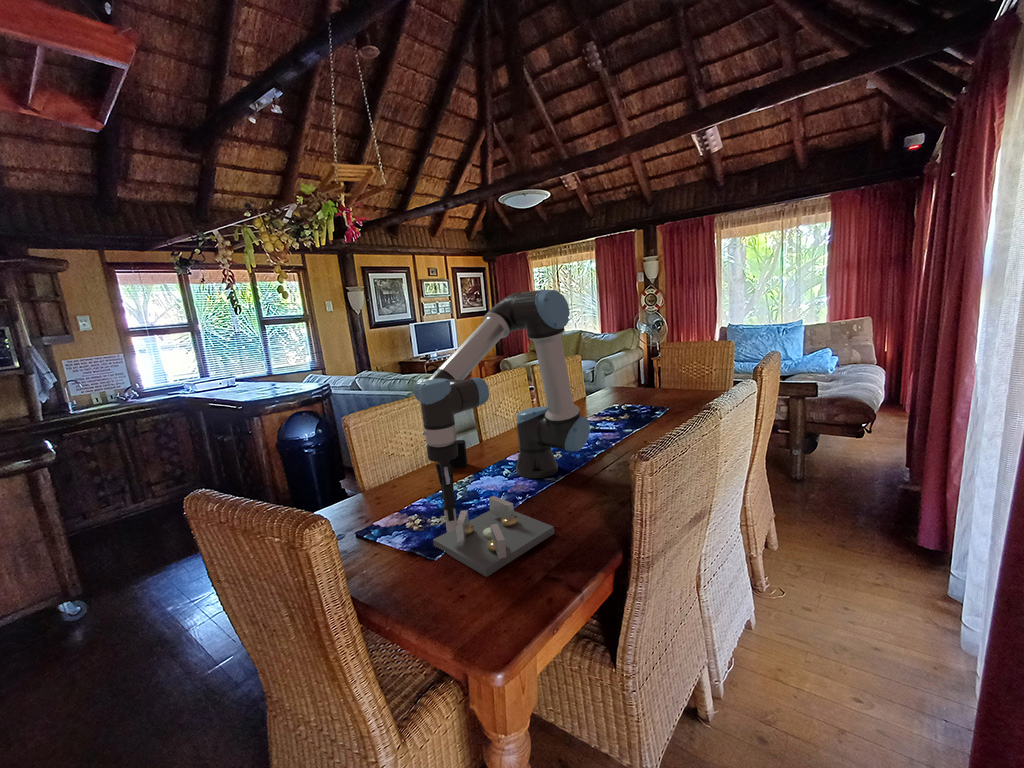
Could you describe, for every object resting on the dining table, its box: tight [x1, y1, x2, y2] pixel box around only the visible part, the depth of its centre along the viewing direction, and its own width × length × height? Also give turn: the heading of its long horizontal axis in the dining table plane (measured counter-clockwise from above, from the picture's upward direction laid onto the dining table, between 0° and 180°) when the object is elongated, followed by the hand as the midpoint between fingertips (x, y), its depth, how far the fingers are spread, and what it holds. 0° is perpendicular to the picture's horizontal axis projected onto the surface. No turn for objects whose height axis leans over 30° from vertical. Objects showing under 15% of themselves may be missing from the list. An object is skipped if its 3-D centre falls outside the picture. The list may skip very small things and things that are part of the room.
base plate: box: [432, 510, 555, 578], centre depth 117 cm, size 24×21×3 cm
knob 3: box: [487, 524, 507, 559], centre depth 107 cm, size 9×4×6 cm, turn 14°
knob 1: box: [456, 509, 474, 542], centre depth 115 cm, size 9×4×6 cm, turn 177°
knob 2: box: [488, 495, 518, 527], centre depth 122 cm, size 9×4×6 cm, turn 43°
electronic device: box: [449, 439, 468, 470], centre depth 173 cm, size 4×10×10 cm, turn 89°
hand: (452, 529), depth 114 cm, fingers closed
